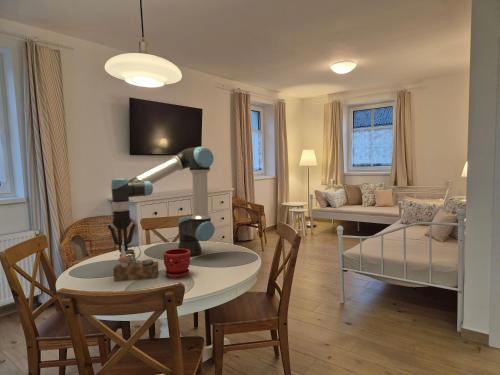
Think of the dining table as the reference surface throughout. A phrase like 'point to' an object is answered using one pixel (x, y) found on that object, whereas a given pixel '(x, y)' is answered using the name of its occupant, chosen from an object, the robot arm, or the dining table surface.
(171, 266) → the plant pot
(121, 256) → the french press
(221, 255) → the dining table surface
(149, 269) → the socket block
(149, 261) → the charcoal plug
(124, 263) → the red plug
